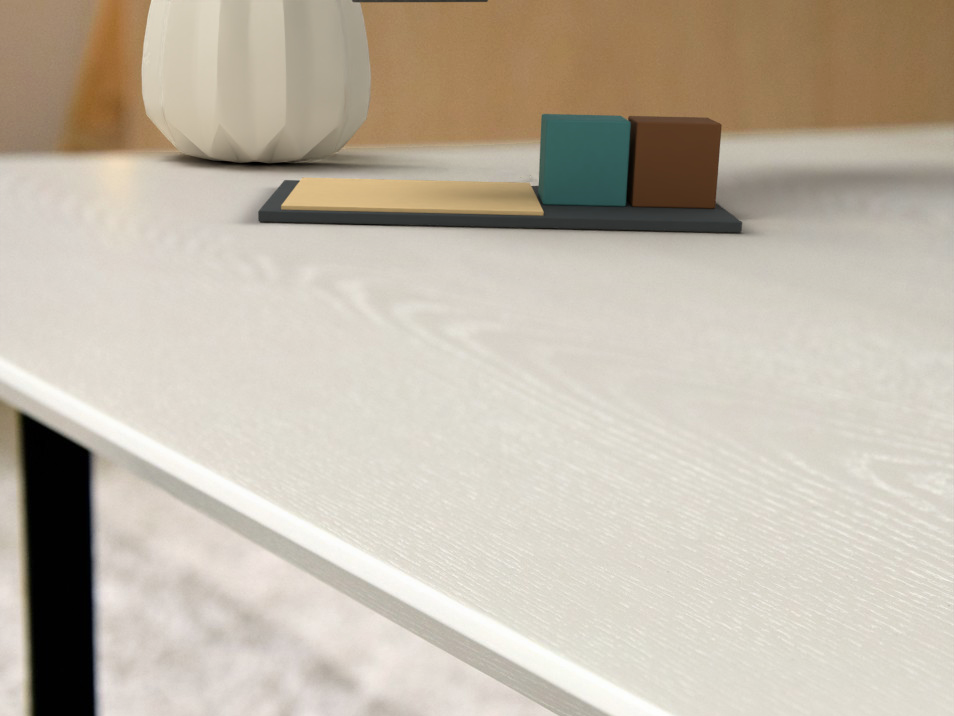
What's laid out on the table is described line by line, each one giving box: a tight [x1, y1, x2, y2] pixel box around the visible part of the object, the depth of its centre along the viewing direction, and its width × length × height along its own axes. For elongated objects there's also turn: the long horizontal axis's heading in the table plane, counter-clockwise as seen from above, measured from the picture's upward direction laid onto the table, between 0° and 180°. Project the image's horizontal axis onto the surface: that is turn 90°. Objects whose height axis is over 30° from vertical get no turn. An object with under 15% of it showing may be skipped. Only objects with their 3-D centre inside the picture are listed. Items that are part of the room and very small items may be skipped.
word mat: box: [257, 113, 743, 234], centre depth 80 cm, size 22×13×4 cm, turn 89°
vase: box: [140, 0, 372, 164], centre depth 100 cm, size 14×14×13 cm
